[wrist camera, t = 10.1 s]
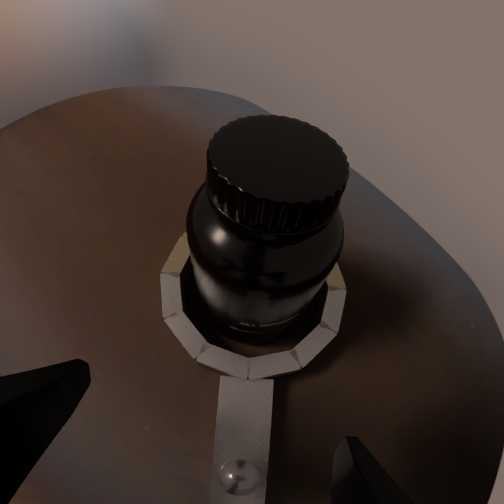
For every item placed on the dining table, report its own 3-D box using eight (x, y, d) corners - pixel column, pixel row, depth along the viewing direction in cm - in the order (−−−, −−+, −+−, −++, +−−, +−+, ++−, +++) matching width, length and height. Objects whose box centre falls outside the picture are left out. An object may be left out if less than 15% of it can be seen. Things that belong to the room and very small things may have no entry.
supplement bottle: (253, 368, 16) (290, 289, 6) (180, 294, 19) (131, 149, 8) (322, 296, 19) (405, 165, 9) (252, 236, 21) (269, 87, 11)
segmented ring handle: (327, 535, 10) (337, 546, 8) (139, 523, 10) (129, 533, 8) (336, 298, 19) (346, 286, 17) (167, 283, 19) (161, 269, 17)
